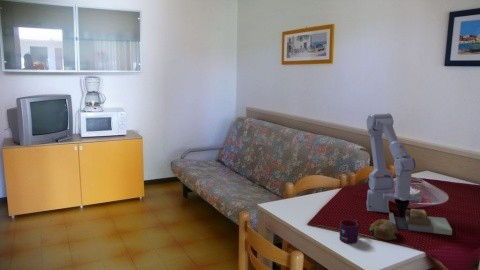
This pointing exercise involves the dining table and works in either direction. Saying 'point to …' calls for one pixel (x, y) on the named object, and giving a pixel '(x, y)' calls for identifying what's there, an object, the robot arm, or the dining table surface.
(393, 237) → the bread roll
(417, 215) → the wooden block
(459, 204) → the dining table surface
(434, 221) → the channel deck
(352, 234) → the mug
